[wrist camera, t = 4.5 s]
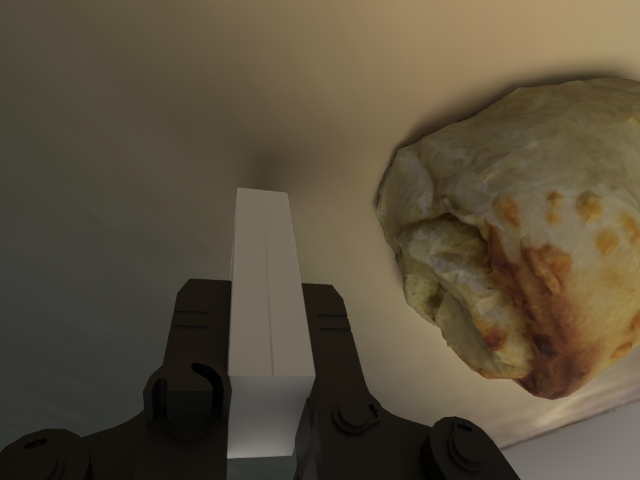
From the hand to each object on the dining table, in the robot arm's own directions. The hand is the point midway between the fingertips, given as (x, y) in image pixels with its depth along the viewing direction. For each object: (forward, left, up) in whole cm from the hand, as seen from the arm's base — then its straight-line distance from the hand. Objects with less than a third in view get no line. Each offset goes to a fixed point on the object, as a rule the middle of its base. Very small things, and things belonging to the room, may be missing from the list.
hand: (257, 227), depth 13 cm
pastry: (+12, 0, -4) cm, 12 cm away
